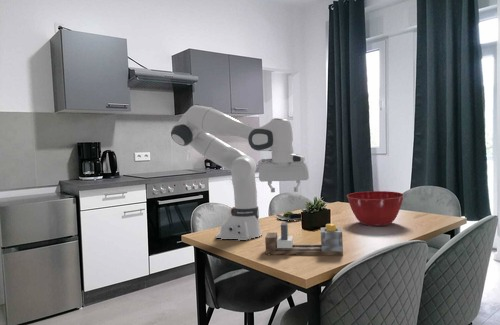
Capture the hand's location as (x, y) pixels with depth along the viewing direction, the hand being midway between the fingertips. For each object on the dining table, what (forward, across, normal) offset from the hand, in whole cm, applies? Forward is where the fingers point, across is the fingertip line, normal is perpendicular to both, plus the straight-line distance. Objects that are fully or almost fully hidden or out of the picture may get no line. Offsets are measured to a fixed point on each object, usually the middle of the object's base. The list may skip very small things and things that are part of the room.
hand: (284, 192), depth 146 cm
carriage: (+22, -1, -1) cm, 22 cm away
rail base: (+24, +7, -1) cm, 25 cm away
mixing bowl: (+25, +41, +52) cm, 70 cm away
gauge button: (+18, +18, 0) cm, 25 cm away
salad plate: (+25, -4, +65) cm, 69 cm away
